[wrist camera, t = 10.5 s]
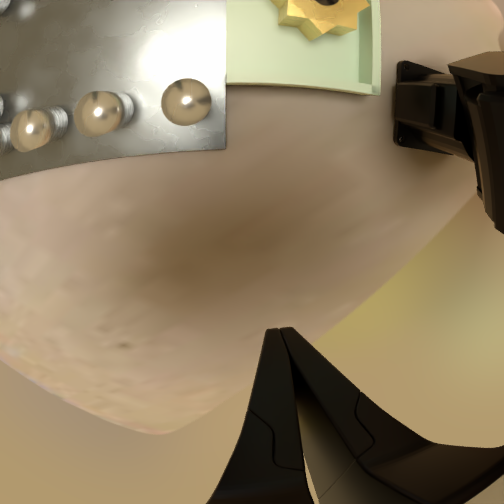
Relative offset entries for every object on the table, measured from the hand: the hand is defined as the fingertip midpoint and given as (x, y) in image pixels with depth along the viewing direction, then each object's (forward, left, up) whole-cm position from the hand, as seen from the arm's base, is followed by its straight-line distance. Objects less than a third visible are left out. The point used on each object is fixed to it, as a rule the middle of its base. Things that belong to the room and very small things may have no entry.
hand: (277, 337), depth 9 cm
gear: (-4, -14, -11) cm, 18 cm away
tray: (-3, -14, -12) cm, 19 cm away
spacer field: (+10, -14, -12) cm, 21 cm away
